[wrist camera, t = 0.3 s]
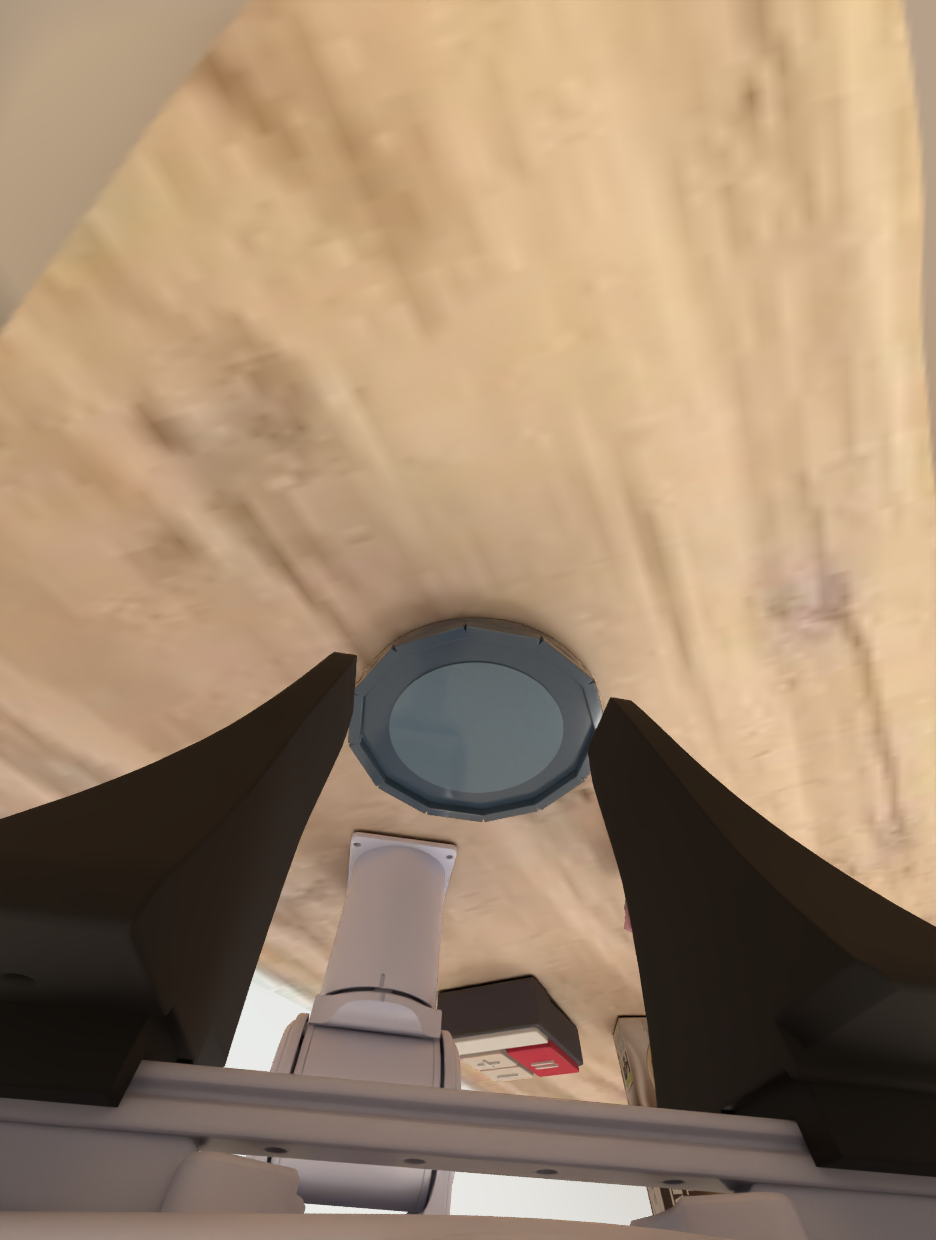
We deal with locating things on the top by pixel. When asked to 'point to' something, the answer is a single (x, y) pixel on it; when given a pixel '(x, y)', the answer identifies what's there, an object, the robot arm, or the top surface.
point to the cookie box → (644, 1092)
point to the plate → (475, 719)
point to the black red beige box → (510, 1030)
